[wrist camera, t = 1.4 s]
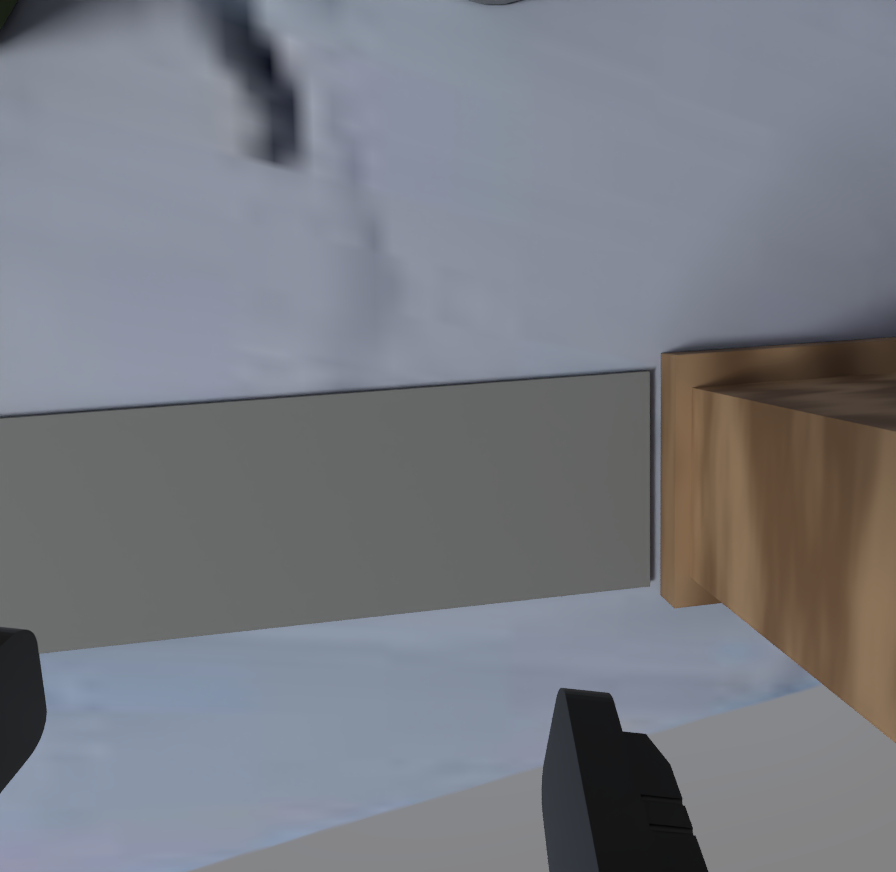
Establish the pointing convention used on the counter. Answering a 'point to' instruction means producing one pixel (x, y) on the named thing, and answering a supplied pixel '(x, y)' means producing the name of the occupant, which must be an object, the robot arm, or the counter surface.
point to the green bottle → (6, 10)
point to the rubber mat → (321, 507)
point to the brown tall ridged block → (789, 503)
